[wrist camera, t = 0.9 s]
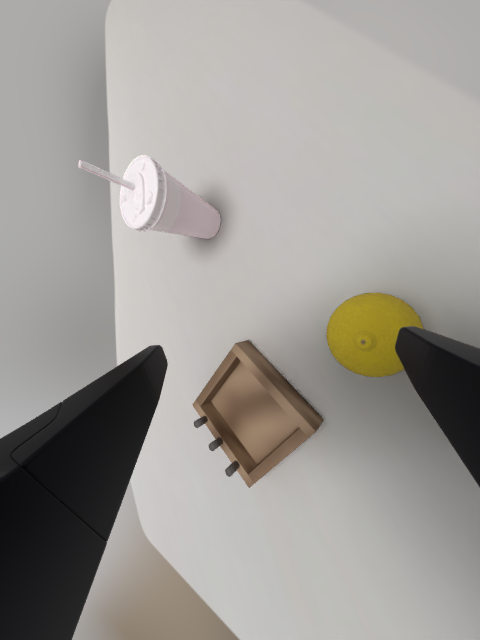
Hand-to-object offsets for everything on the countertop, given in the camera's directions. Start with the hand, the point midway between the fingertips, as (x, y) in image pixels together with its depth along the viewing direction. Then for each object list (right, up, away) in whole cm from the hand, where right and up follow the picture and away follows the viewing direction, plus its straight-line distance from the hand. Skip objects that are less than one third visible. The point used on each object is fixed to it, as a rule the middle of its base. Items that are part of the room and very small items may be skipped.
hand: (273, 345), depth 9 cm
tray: (0, -9, +17) cm, 19 cm away
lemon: (+10, 0, +10) cm, 14 cm away
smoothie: (-5, +13, +20) cm, 24 cm away
